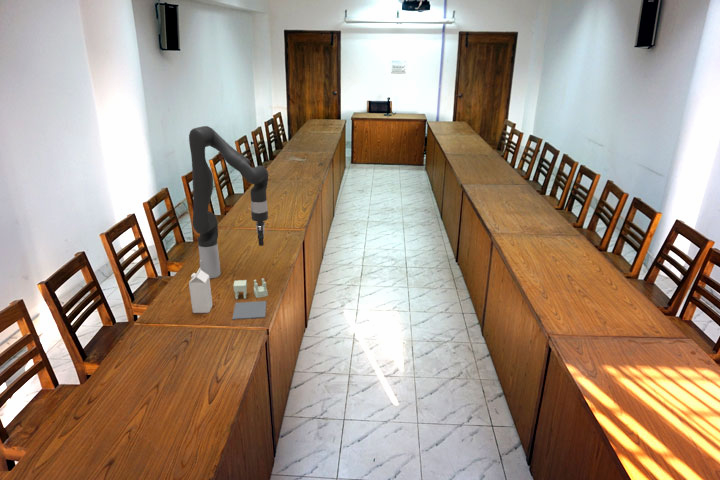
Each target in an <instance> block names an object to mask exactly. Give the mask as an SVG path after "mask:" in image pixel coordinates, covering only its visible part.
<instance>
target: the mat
mask: <svg viewBox="0 0 720 480" xmlns="http://www.w3.org/2000/svg"><path fill="white" fill-rule="evenodd" d="M266 313H267V300H263V301H262V300H261V301H244V302H242V301H241V302H234V308H233V314H232V321H235V320H236V319H240V320H249V319H250V320H252V319H266V316H265V315H266ZM236 321H237V320H236Z"/></svg>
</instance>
